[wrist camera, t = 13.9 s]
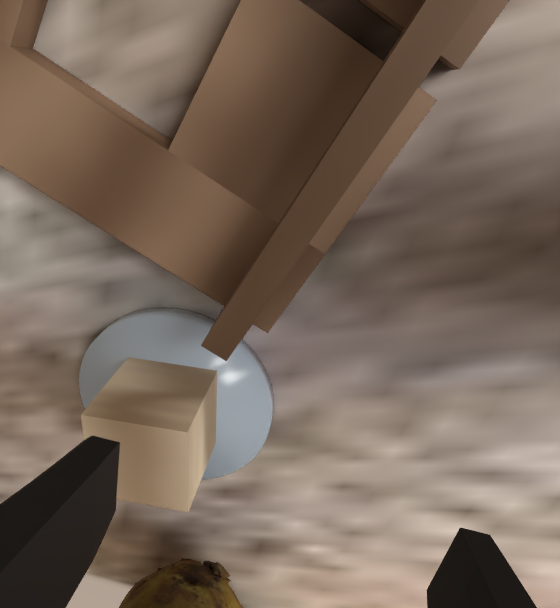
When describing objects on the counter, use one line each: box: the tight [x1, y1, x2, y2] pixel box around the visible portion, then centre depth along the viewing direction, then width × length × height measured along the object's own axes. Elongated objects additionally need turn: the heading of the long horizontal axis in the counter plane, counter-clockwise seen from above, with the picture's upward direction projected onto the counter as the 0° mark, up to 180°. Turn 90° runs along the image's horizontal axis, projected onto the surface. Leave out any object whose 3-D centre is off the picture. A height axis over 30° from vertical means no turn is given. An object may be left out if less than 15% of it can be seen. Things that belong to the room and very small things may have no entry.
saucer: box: [79, 308, 274, 480], centre depth 22 cm, size 9×9×1 cm
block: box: [81, 357, 217, 512], centre depth 20 cm, size 4×4×4 cm
